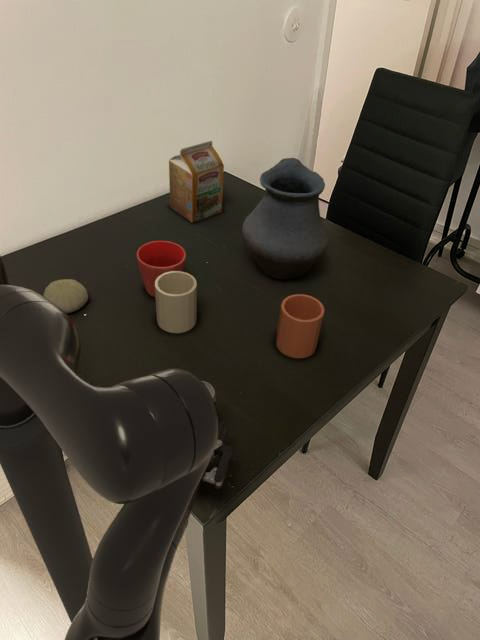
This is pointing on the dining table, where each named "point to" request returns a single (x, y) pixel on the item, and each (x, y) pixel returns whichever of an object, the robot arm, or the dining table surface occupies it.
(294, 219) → the dark grey vase
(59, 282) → the sea urchin shell
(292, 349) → the terracotta cup
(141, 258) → the flower pot
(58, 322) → the robot arm
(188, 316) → the cream cup
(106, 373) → the dining table surface
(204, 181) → the milk carton
